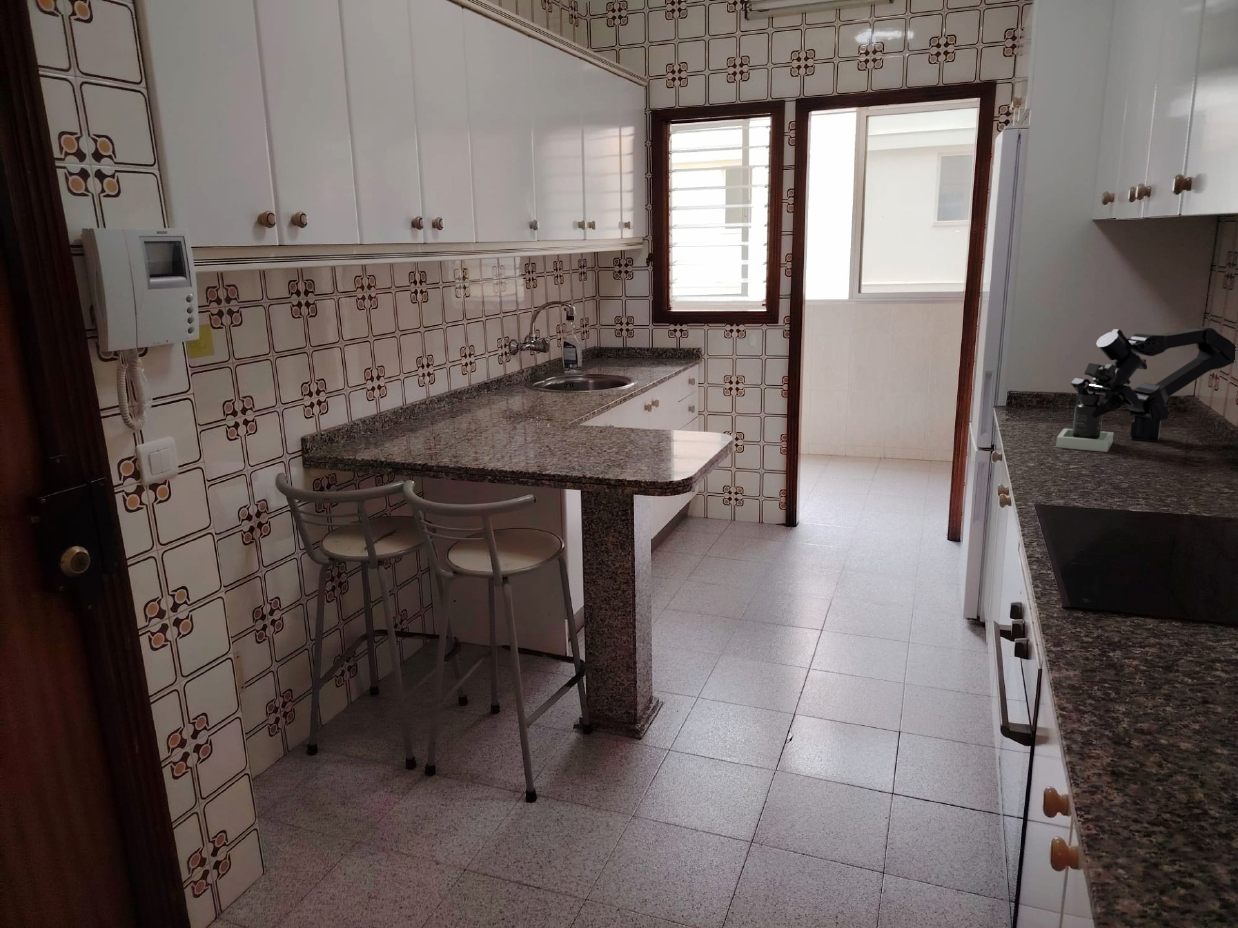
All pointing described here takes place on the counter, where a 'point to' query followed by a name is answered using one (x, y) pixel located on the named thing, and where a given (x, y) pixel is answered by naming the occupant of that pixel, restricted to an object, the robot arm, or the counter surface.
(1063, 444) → the mint green square tray
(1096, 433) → the supplement bottle
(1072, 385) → the robot arm
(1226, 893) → the counter surface
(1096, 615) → the counter surface
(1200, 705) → the counter surface
